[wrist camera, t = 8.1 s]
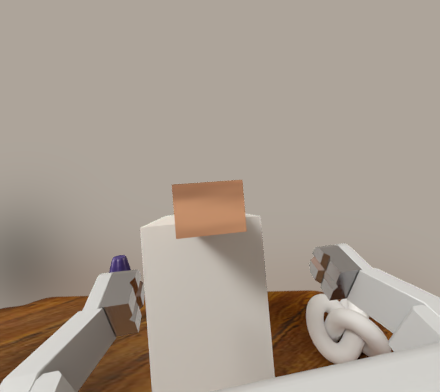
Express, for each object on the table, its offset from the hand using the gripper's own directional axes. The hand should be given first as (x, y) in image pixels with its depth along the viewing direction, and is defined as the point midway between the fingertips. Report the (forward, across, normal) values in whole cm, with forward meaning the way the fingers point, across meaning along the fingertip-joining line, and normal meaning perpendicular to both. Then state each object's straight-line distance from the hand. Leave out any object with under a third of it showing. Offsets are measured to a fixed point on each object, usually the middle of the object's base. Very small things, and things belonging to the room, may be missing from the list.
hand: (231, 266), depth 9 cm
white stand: (+6, -1, -32) cm, 33 cm away
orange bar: (+12, -1, -6) cm, 13 cm away
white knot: (+8, +24, -34) cm, 42 cm away
